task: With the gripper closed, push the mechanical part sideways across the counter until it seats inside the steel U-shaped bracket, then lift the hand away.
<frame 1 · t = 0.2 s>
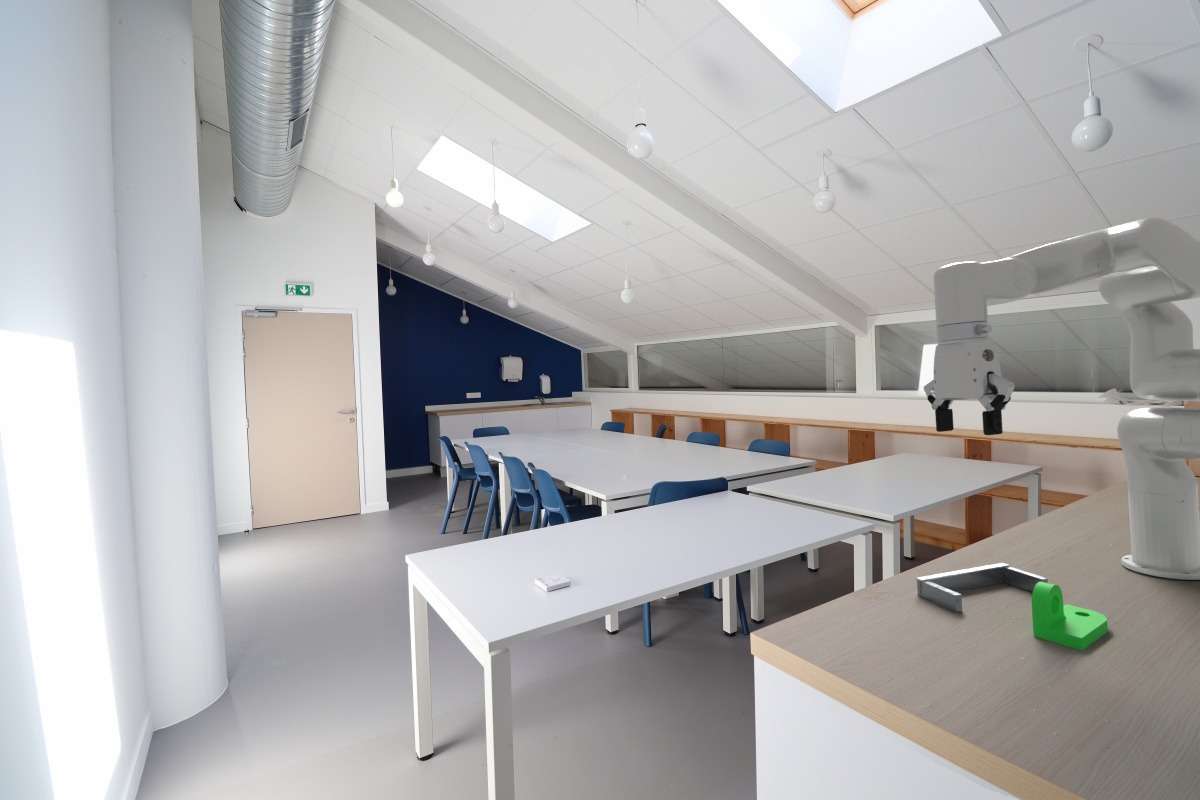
hand: (967, 432, 96), 31 cm above the counter, fingers open, 9 cm apart
steel bracket: (988, 597, 100), on the counter
mechanical part: (1074, 633, 85), on the counter
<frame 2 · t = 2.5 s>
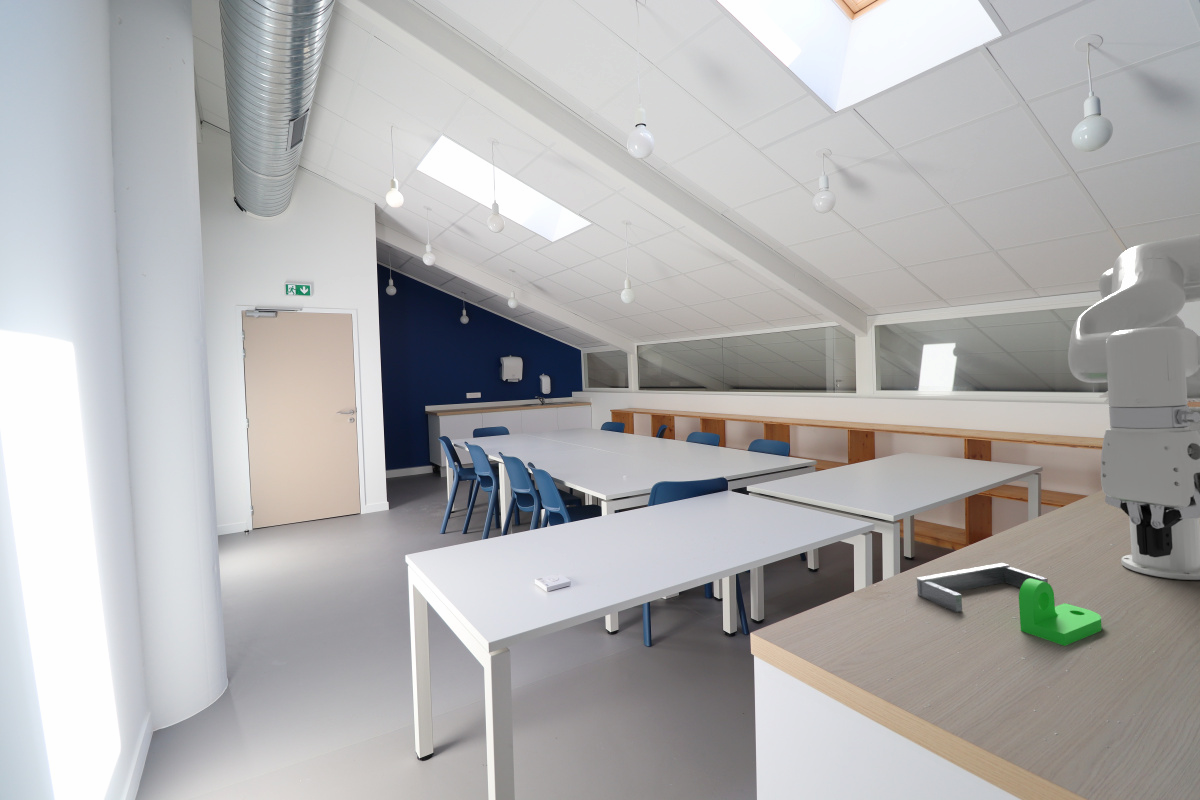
hand: (1155, 554, 74), 15 cm above the counter, fingers closed
mechanical part: (1065, 631, 86), on the counter
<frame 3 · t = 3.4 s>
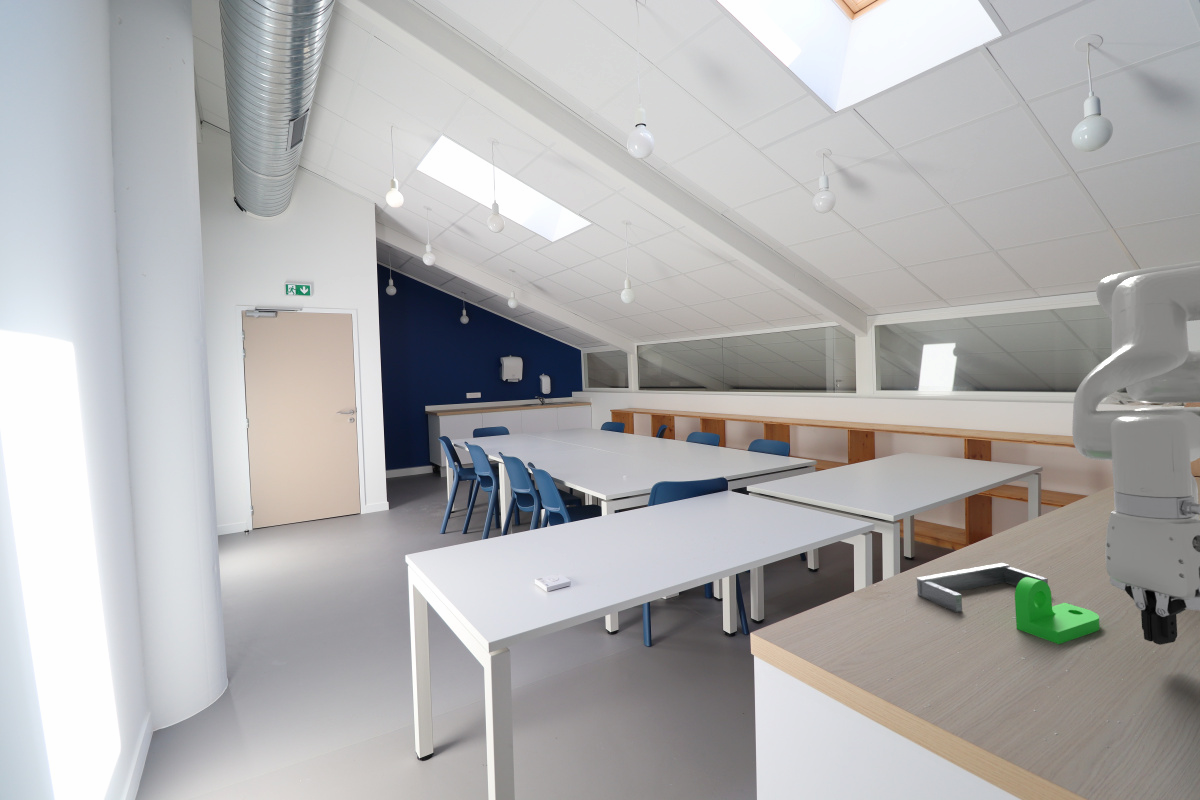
hand: (1159, 640, 74), 4 cm above the counter, fingers closed
nothing on the counter moved.
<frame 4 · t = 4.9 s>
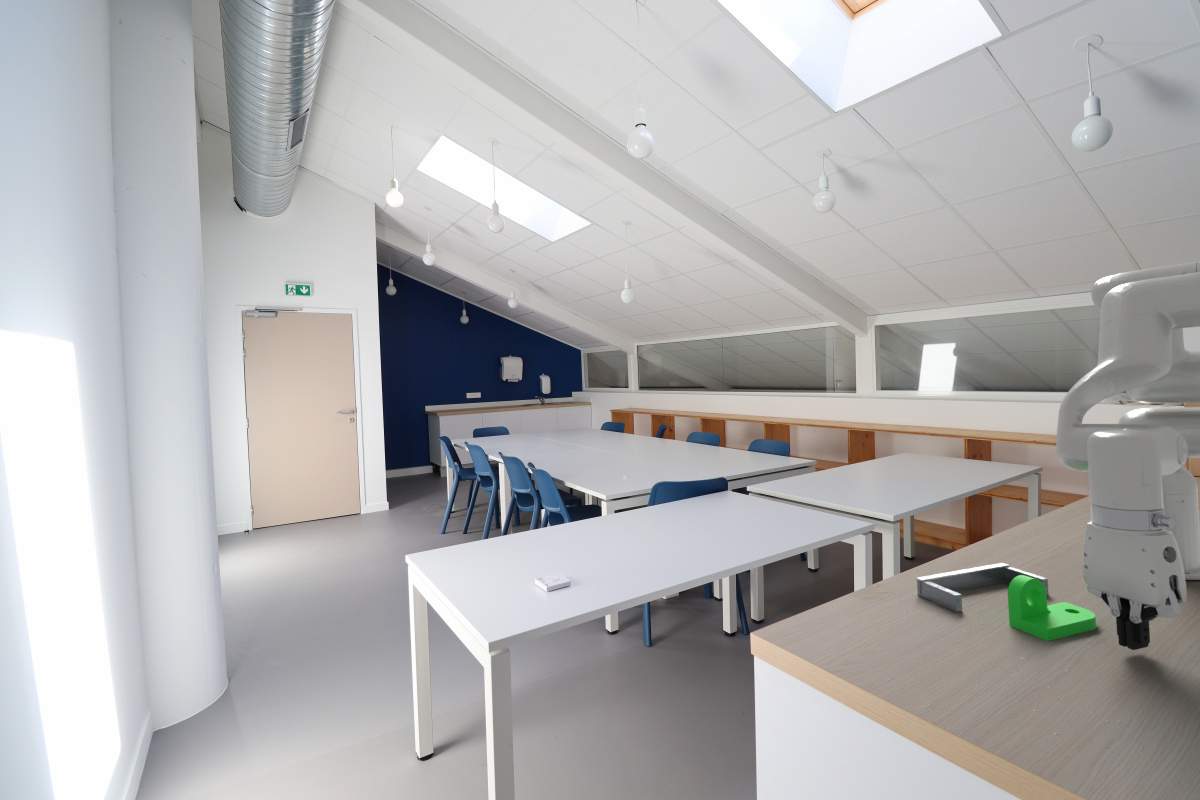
hand: (1133, 645, 78), 1 cm above the counter, fingers closed
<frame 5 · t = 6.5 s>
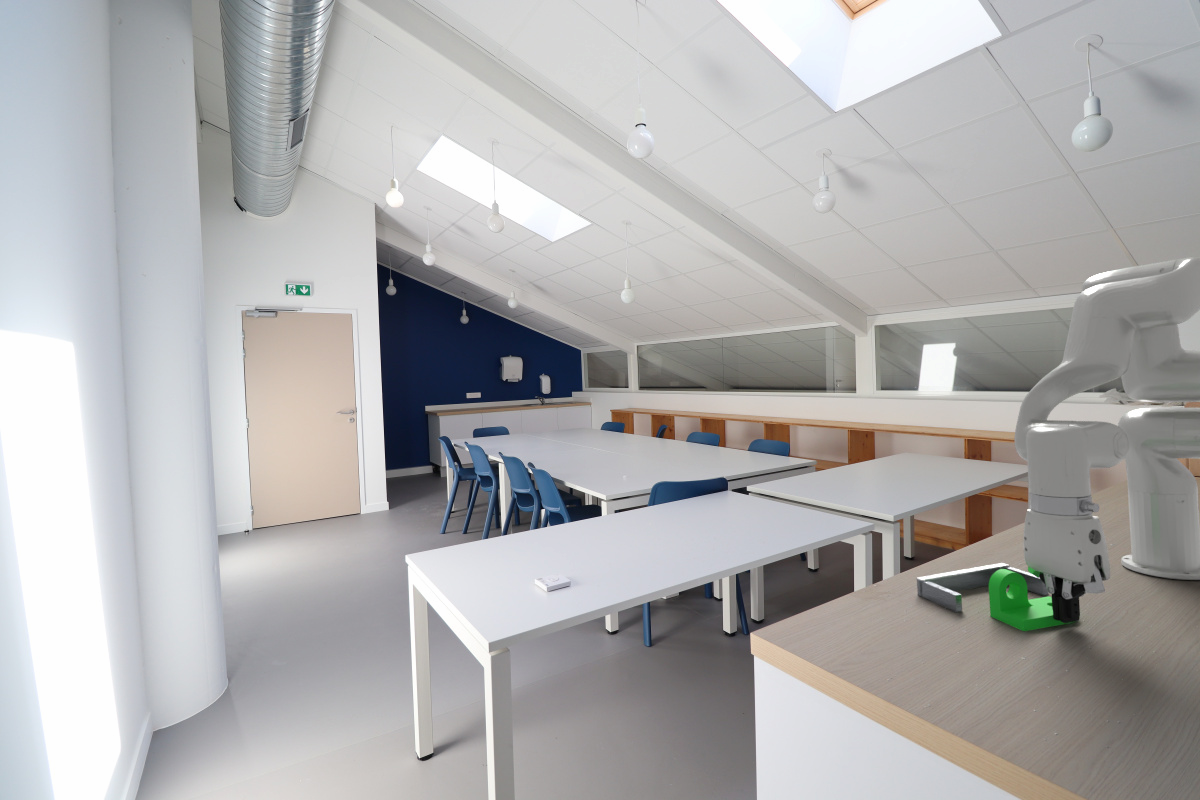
hand: (1066, 619, 86), 1 cm above the counter, fingers closed
mechanical part: (1037, 621, 91), on the counter
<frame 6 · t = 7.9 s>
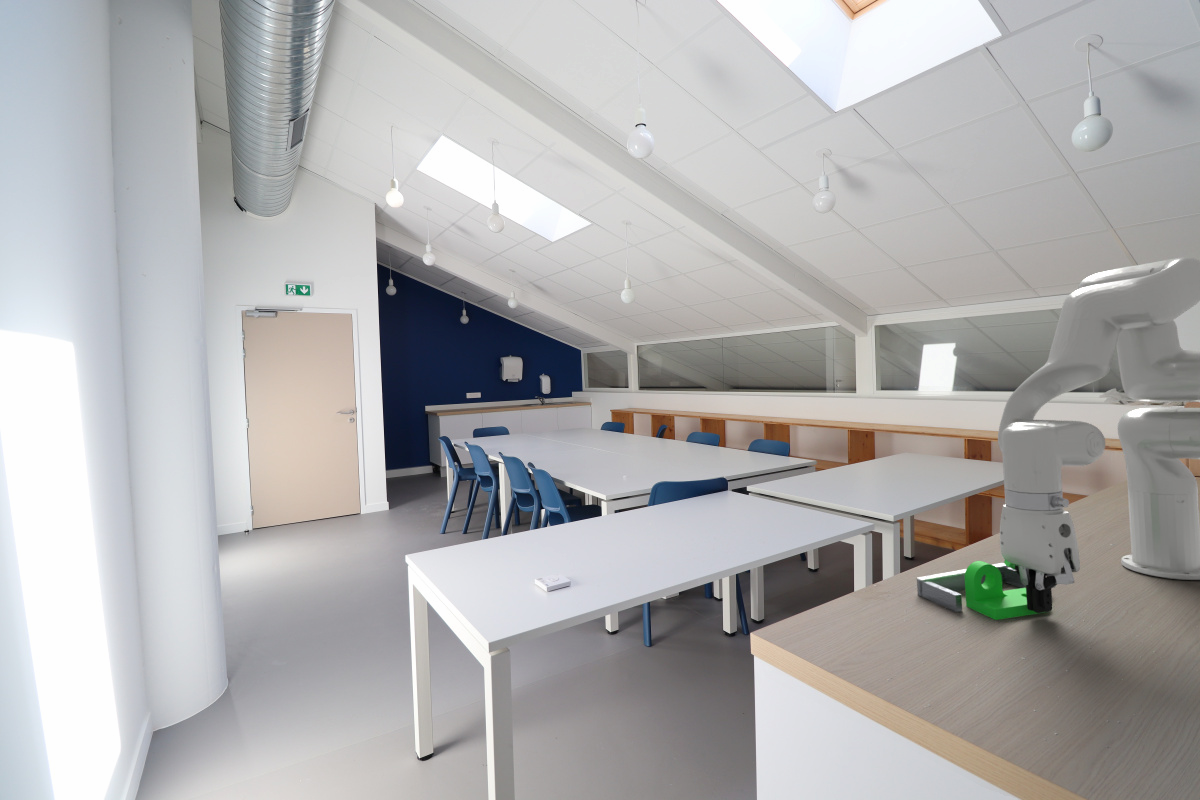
hand: (1039, 610, 91), 1 cm above the counter, fingers closed
mechanical part: (1011, 610, 95), on the counter
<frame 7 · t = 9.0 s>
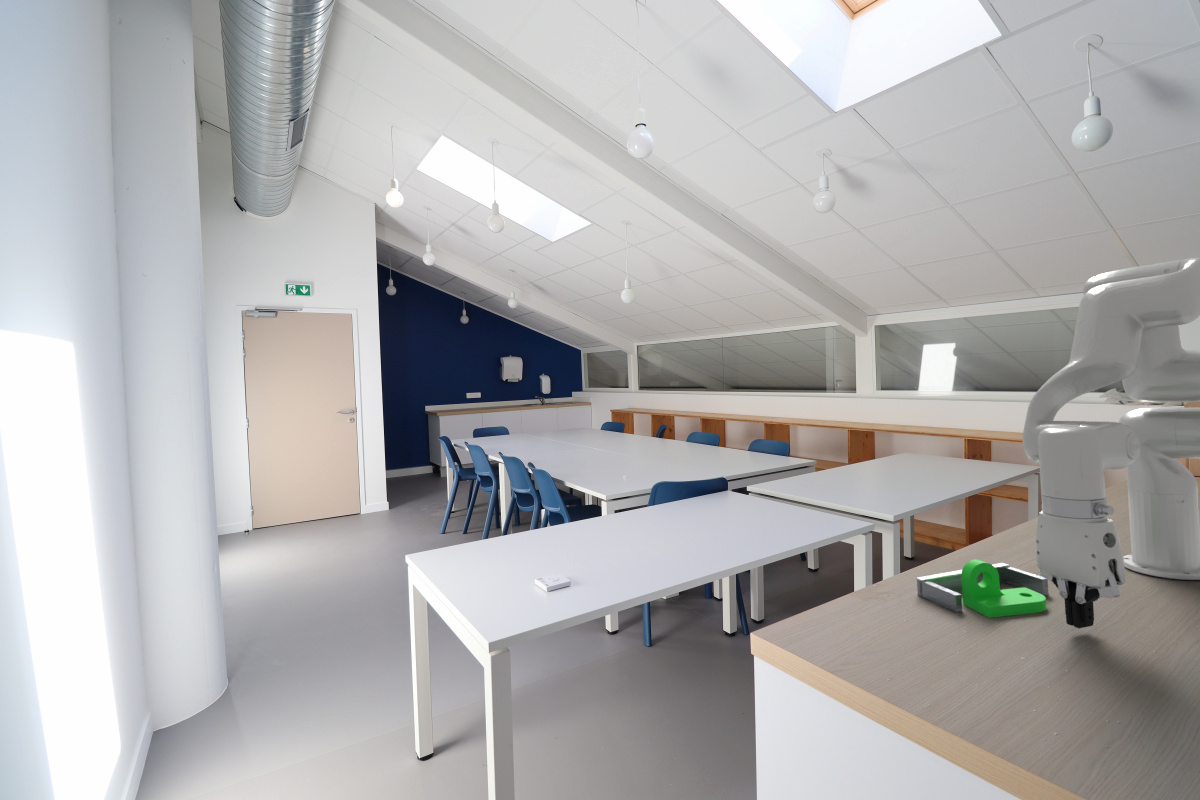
hand: (1080, 624, 85), 1 cm above the counter, fingers closed
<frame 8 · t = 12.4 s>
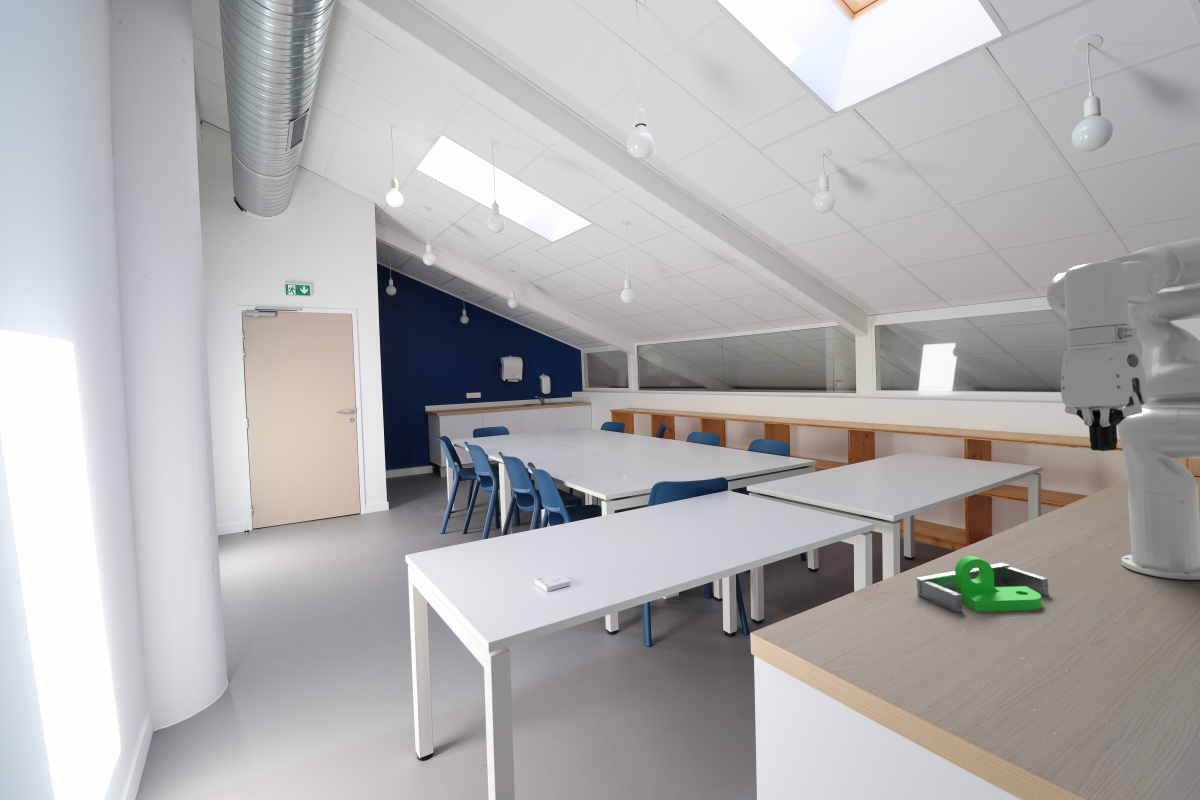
hand: (1103, 449, 90), 27 cm above the counter, fingers closed
mechanical part: (1001, 605, 97), on the counter
at the end: mechanical part inside the target area (2.8 cm from its centre), on the counter; mechanical part moved 12.2 cm from its start; the gripper is holding nothing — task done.
